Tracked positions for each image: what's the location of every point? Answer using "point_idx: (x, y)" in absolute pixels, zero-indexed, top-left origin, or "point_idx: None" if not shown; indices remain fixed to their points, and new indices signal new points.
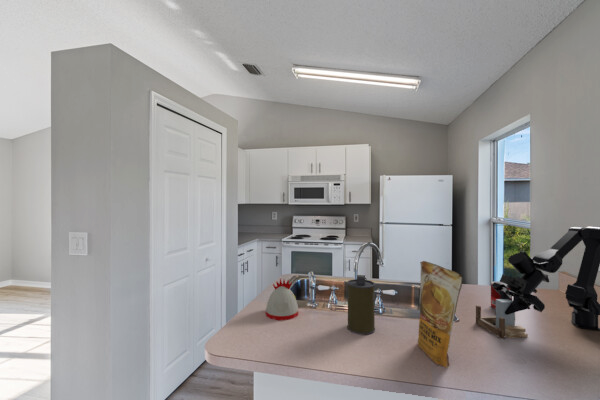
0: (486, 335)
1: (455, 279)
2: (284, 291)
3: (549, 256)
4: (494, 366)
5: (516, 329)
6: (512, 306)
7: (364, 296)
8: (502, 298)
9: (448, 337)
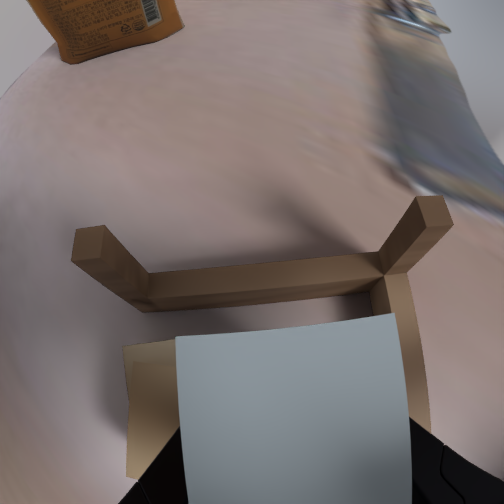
0: (192, 226)
1: None
2: None
3: None
4: (18, 141)
5: (132, 409)
6: (132, 487)
7: None
8: (451, 501)
9: (38, 9)
